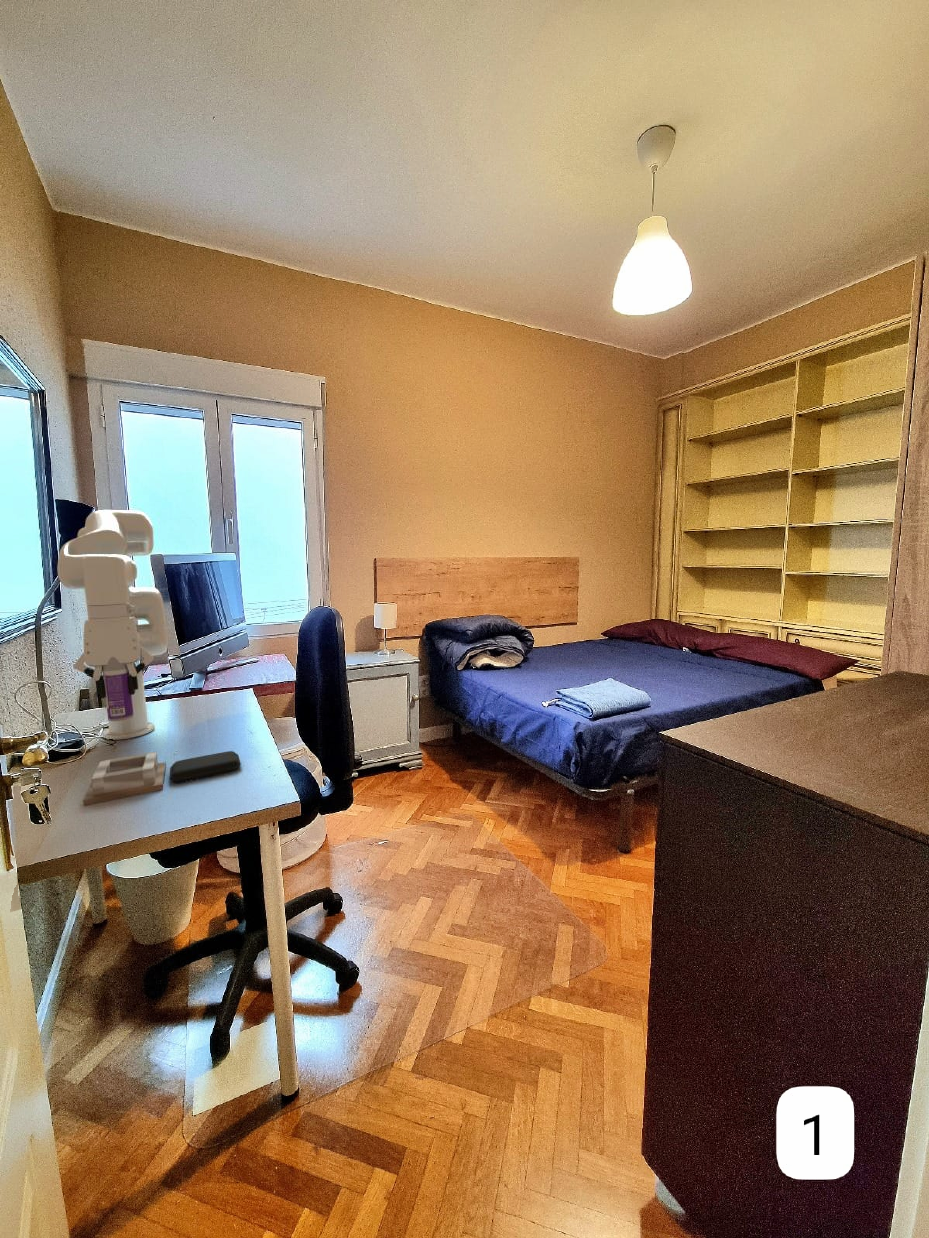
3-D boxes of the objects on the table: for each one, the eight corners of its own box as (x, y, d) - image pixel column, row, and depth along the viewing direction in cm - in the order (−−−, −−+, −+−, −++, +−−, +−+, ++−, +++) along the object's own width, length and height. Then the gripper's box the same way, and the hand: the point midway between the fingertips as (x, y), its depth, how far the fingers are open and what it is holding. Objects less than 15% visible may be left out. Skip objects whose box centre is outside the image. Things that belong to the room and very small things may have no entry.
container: (138, 715, 113) (131, 649, 111) (119, 721, 108) (111, 653, 106) (122, 713, 114) (115, 648, 112) (102, 720, 109) (94, 652, 107)
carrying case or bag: (237, 757, 128) (171, 770, 121) (236, 746, 127) (169, 758, 120) (242, 772, 119) (169, 787, 111) (241, 760, 118) (168, 774, 111)
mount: (95, 779, 116) (93, 760, 115) (166, 766, 122) (164, 748, 122) (83, 805, 103) (81, 783, 103) (162, 789, 110) (160, 768, 109)
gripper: (156, 608, 115) (164, 686, 118) (64, 614, 107) (74, 696, 110) (154, 611, 109) (162, 693, 111) (55, 617, 101) (66, 705, 103)
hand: (118, 694), depth 110 cm, fingers closed on container, 4 cm apart
